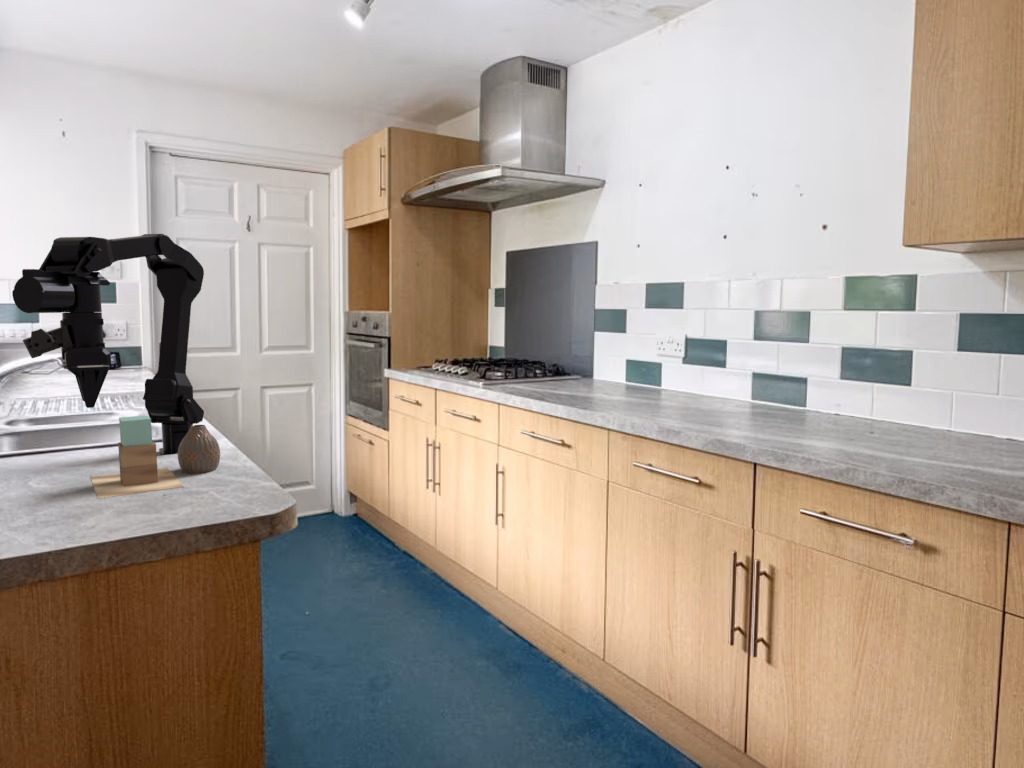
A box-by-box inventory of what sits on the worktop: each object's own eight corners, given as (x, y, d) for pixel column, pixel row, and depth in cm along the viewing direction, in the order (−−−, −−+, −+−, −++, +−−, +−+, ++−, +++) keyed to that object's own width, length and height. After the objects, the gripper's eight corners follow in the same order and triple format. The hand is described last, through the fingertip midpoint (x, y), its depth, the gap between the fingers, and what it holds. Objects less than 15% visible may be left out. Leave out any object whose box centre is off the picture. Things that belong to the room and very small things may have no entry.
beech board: (90, 481, 120) (90, 476, 120) (168, 471, 127) (167, 467, 127) (98, 503, 107) (97, 498, 107) (184, 491, 114) (183, 486, 113)
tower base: (120, 480, 118) (119, 461, 117) (153, 476, 120) (152, 457, 120) (123, 486, 113) (122, 467, 113) (158, 482, 116) (157, 463, 116)
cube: (120, 442, 117) (119, 417, 116) (148, 440, 119) (147, 415, 119) (123, 447, 113) (121, 421, 113) (152, 444, 116) (150, 418, 115)
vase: (170, 476, 124) (167, 427, 123) (203, 468, 130) (201, 421, 129) (196, 480, 121) (194, 430, 120) (229, 472, 127) (227, 424, 126)
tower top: (119, 461, 117) (118, 442, 117) (152, 457, 120) (151, 439, 120) (122, 467, 113) (121, 447, 113) (157, 463, 116) (155, 444, 116)
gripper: (24, 312, 122) (31, 401, 123) (23, 313, 106) (31, 415, 108) (98, 311, 128) (104, 396, 130) (108, 313, 113) (114, 409, 114)
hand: (88, 404), depth 120 cm, fingers open, 9 cm apart
